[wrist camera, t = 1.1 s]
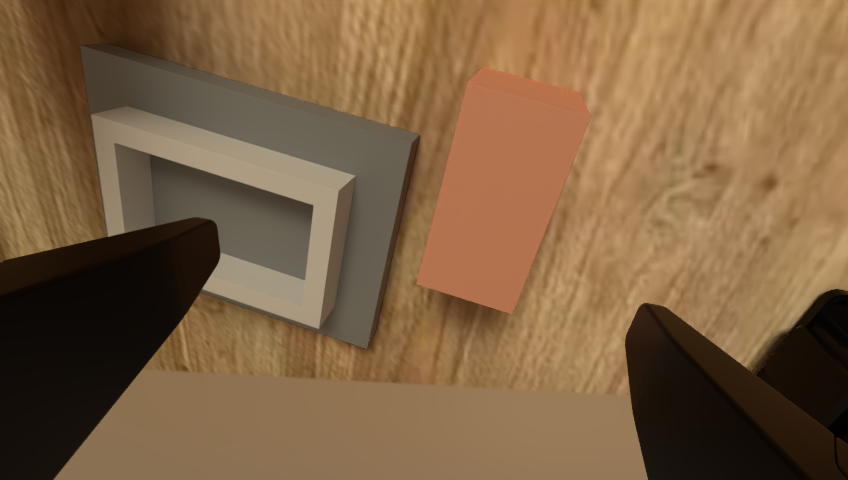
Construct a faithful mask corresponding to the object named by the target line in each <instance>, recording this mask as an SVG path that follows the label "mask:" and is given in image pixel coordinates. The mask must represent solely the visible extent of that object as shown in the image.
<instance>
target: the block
mask: <svg viewBox="0 0 848 480" xmlns="http://www.w3.org/2000/svg"><path fill="white" fill-rule="evenodd" d="M590 118H591V114H590V112H589V110H588V108H587V106H586V105H585V103H584V101H583V99H582V97H581V95H580V93H579V92H577V91H573V90H569V89H566V88H562V87H558V86H554V85H550V84H547V83H543V82H539V81H535V80H532V79H528V78H524V77H520V76H516V75H513V74H509V73H505V72H501V71H497V70H494V69H490V68H486V67H483V68H482V69H481V70H480V71H479V72H478V73H477V74H476V75H475V76H474V77H473V78H472V79H471V80H470V81H468V82H467V86H466V90H465V94H464V98H463V102H462V106H461V110H460V114H459V118H458V122H457V126H456V130H455V134H454V137H453V141H452V145H451V149H450V153H449V157H448V161H447V165H446V169H445V173H444V177H443V181H442V185H441V189H440V193H439V196H438V200H437V204H436V208H435V212H434V216H433V220H432V224H431V228H430V232H429V236H428V240H427V244H426V248H425V252H424V255H423V259H422V263H421V267H420V271H419V275H418V279H417V283H416V284H418V285H421V286H424V287H427V288H430V289H433V290H437V291H440V292H443V293H446V294H449V295H452V296H456V297H459V298H462V299H465V300H468V301H471V302H475V303H478V304H481V305H484V306H487V307H490V308H494V309H497V310H500V311H503V312H506V313H509V314H513V311H514V309H515V306H516V304H517V301H518V299H519V296H520V294H521V291H522V289H523V286H524V284H525V281H526V278H527V276H528V273H529V271H530V268H531V266H532V263H533V261H534V258H535V256H536V253H537V251H538V248H539V246H540V243H541V241H542V238H543V236H544V233H545V231H546V228H547V226H548V223H549V221H550V218H551V216H552V213H553V211H554V208H555V206H556V203H557V201H558V198H559V196H560V193H561V191H562V188H563V186H564V183H565V181H566V178H567V176H568V173H569V171H570V168H571V166H572V163H573V161H574V158H575V156H576V153H577V151H578V148H579V146H580V143H581V141H582V138H583V136H584V133H585V131H586V128H587V126H588V123H589V121H590Z"/></svg>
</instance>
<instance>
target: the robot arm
mask: <svg viewBox="0 0 848 480" xmlns="http://www.w3.org/2000/svg"><path fill="white" fill-rule="evenodd" d="M220 255H221V251H220V243H219V235H218V228H217V224H216V223H215V222H214V221H213V220H211V219H206V218H200V217H192V218H188V219H183V220H179V221H174V222H170V223H166V224H161V225H157V226H153V227H148V228H144V229H139V230H135V231H131V232H126V233H122V234H118V235H113V236H109V237H105V238H100V239H96V240H91V241H87V242H83V243H78V244H74V245H70V246H65V247H61V248H56V249H52V250H48V251H43V252H39V253H35V254H30V255H26V256H22V257H17V258H13V259H8V260H4V261H3V262H2V263H0V480H54V478H55V477H56V476H57V475H58V474H59V472H60V471H61V469H63V467H64V466H65V465H66V463H67V462H68V461H69V460H70V459H71V457H72V456H73V455H74V453H75V452H76V451H77V450H78V449H79V447H80V446H81V445H82V444H83V442H84V441H85V440H86V439H87V437H88V436H89V435H90V434H91V432H92V431H93V430H94V429H95V427H96V426H97V425H98V424H99V422H100V421H101V420H102V419H103V418H104V416H105V415H106V414H107V412H108V411H109V410H110V409H111V408H112V406H113V405H114V404H115V403H116V401H117V400H118V399H119V398H120V396H121V395H122V394H123V393H124V391H125V390H126V389H127V388H128V386H129V385H130V384H131V382H132V381H133V380H134V379H135V378H136V376H137V375H138V374H139V373H140V371H141V370H142V369H143V368H144V367H145V365H146V364H147V363H148V362H149V360H150V359H151V358H152V357H153V355H154V354H155V353H156V352H157V350H158V349H159V348H160V347H161V345H162V344H163V343H164V342H165V340H166V339H167V338H168V337H169V335H170V334H171V333H172V332H173V330H174V329H175V328H176V327H177V325H178V324H179V323H180V321H181V320H182V319H183V318H184V316H185V315H186V313H187V312H188V310H189V309H190V307H191V306H192V304H193V303H194V301H195V299H196V298H197V296H198V295H199V293H200V292H201V290H202V288H203V287H204V285H205V284H206V282H207V281H208V279H209V277H210V276H211V274H212V273H213V271H214V270H215V268H216V267H217V265H218V263H219V260H220ZM839 299H841V301H840V302H839V303H836V304H833V303H834V302H835V301H836V300H839ZM625 349H626V358H627V367H628V376H629V386H630V395H631V403H632V410H633V416H634V420H635V426H636V430H637V433H638V438H639V442H640V447H641V451H642V456H643V460H644V464H645V468H646V472H647V477H648V480H848V291H844V290H839V289H835V290H830V291H828V292H826V293H825V294H824V295H823V296H822V297H821V298H820V299H819V300H818V302H817V303H816V304H815V305H814V306H813V308H812V309H811V310H810V311H809V313H808V314H807V315H806V316H805V317H804V319H803V320H802V321H801V322H800V323H799V325H798V326H797V327H796V328H795V329H794V331H793V332H792V333H791V334H790V335H789V337H788V338H787V339H786V340H785V342H784V343H783V344H782V345H781V346H780V348H779V349H778V350H777V351H776V352H775V354H774V355H773V356H772V357H771V358H770V360H769V361H768V362H767V363H766V364H765V366H764V367H763V368H762V369H761V371H760V372H759V373H758V374H757V375H755V374H753V373H752V372H751V371H749V370H748V369H747V368H745V367H744V366H743V365H741V364H740V363H739V362H737V361H736V360H735V359H733V358H732V357H731V356H730V355H728V354H727V353H726V352H724V351H723V350H722V349H720V348H719V347H718V346H716V345H715V344H714V343H712V342H711V341H710V340H708V339H707V338H706V337H704V336H703V335H702V334H700V333H699V332H698V331H696V330H695V329H694V328H692V327H691V326H690V325H688V324H687V323H686V322H685V321H683V320H682V319H681V318H679V317H678V316H677V315H675V314H674V313H673V312H671V311H670V310H669V309H667V308H666V307H664V306H660V305H654V304H649V303H644V304H642V305H641V306H640V307H639V308H638V310H637V312H636V315H635V317H634V319H633V321H632V323H631V326H630V328H629V330H628V332H627V335H626V340H625Z"/></svg>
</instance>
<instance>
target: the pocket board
mask: <svg viewBox="0 0 848 480" xmlns="http://www.w3.org/2000/svg"><path fill="white" fill-rule="evenodd" d="M80 50H81V57H82V64H83V71H84V78H85V85H86V92H87V99H88V106H89V113H90V120H91V127H92V134H93V141H94V148H95V155H96V162H97V169H98V176H99V183H100V190H101V197H102V204H103V211H104V218H105V225H106V232H107V237H109V236H113V235H118V234H122V233H126V232H131V231H135V230H139V229H144V228H148V227H153V226H157V225H161V224H166V223H170V222H174V221H179V220H183V219H188V218H192V217H200V218H206V219H211V220H213V221H214V222H215V223H216V224H217V228H218V235H219V243H220V251H221V255H220V260H219V263H218V265H217V267H216V268H215V270H214V271H213V273H212V274H211V276H210V277H209V279H208V281H207V282H206V284H205V285H204V287H203V288H202V290H201V293H204V294H207V295H210V296H213V297H215V298H218V299H221V300H224V301H227V302H230V303H233V304H236V305H239V306H242V307H245V308H248V309H251V310H254V311H256V312H259V313H262V314H265V315H268V316H271V317H274V318H277V319H280V320H283V321H286V322H289V323H292V324H295V325H297V326H300V327H303V328H306V329H309V330H312V331H315V332H318V333H321V334H324V335H327V336H330V337H333V338H336V339H338V340H341V341H344V342H347V343H350V344H353V345H356V346H359V347H362V348H365V349H367V348H368V346H369V344H370V342H371V340H372V338H373V336H374V334H375V332H376V327H377V323H378V318H379V314H380V310H381V305H382V301H383V296H384V292H385V287H386V283H387V278H388V274H389V270H390V265H391V261H392V256H393V252H394V247H395V243H396V238H397V234H398V230H399V225H400V221H401V216H402V212H403V207H404V203H405V198H406V194H407V190H408V185H409V181H410V176H411V172H412V167H413V163H414V158H415V154H416V150H417V145H418V141H419V136H420V135H419V134H415V133H412V132H408V131H405V130H402V129H398V128H395V127H391V126H388V125H384V124H381V123H378V122H374V121H371V120H367V119H364V118H361V117H357V116H354V115H350V114H347V113H343V112H340V111H337V110H333V109H330V108H326V107H323V106H319V105H316V104H313V103H309V102H306V101H302V100H299V99H296V98H292V97H289V96H285V95H282V94H278V93H275V92H272V91H268V90H265V89H261V88H258V87H254V86H251V85H248V84H244V83H241V82H237V81H234V80H231V79H227V78H224V77H220V76H217V75H213V74H210V73H207V72H203V71H200V70H196V69H193V68H190V67H186V66H183V65H179V64H176V63H172V62H169V61H166V60H162V59H159V58H155V57H152V56H148V55H145V54H142V53H138V52H135V51H131V50H128V49H125V48H121V47H118V46H114V45H111V44H92V45H80Z"/></svg>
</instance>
